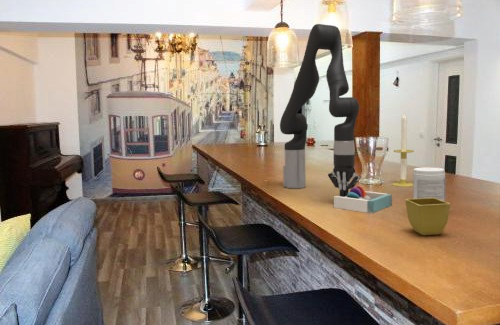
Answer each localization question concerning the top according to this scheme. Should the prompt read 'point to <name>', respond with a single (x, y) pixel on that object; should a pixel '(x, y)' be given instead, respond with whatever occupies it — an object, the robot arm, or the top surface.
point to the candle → (403, 155)
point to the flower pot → (427, 215)
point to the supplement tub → (429, 183)
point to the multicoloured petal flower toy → (358, 193)
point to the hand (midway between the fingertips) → (344, 199)
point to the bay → (364, 202)
